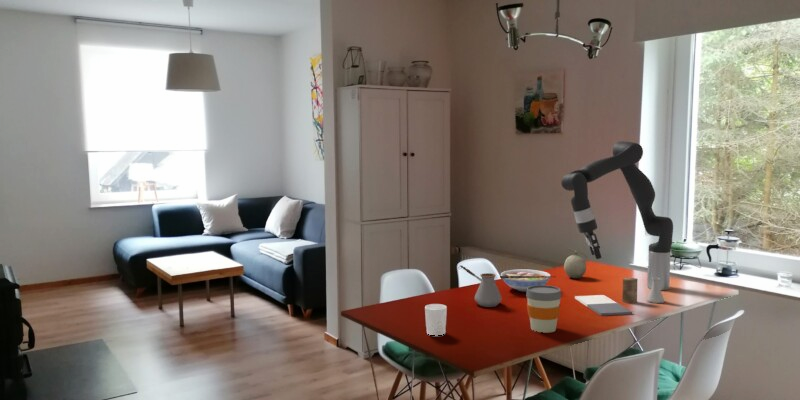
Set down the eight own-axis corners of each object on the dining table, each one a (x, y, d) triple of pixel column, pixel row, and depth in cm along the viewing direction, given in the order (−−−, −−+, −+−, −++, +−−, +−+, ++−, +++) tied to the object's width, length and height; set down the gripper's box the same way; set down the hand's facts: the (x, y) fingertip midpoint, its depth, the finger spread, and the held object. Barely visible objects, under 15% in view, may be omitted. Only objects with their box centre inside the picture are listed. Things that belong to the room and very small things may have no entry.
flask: (666, 304, 253) (667, 280, 252) (648, 303, 254) (648, 280, 253) (662, 299, 260) (663, 276, 259) (644, 298, 261) (645, 276, 260)
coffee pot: (507, 304, 257) (507, 269, 255) (490, 310, 249) (490, 274, 247) (468, 295, 272) (467, 262, 270) (451, 300, 264) (451, 267, 262)
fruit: (590, 280, 296) (591, 250, 295) (567, 280, 297) (567, 250, 295) (584, 275, 307) (584, 246, 305) (561, 275, 307) (561, 246, 305)
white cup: (424, 330, 224) (423, 304, 223) (445, 329, 224) (444, 303, 223) (426, 337, 216) (426, 310, 215) (448, 336, 216) (448, 309, 215)
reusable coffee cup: (537, 321, 232) (537, 283, 230) (567, 328, 223) (567, 288, 222) (519, 329, 223) (519, 289, 221) (549, 336, 214) (550, 295, 213)
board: (574, 298, 263) (574, 296, 263) (603, 297, 265) (603, 294, 265) (600, 315, 238) (600, 313, 238) (632, 314, 239) (632, 311, 239)
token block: (622, 302, 257) (622, 279, 256) (626, 300, 260) (627, 277, 259) (632, 303, 254) (633, 280, 253) (636, 301, 257) (637, 278, 256)
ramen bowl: (547, 283, 291) (547, 267, 290) (558, 296, 268) (558, 278, 267) (495, 284, 291) (495, 267, 291) (501, 296, 269) (501, 278, 268)
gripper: (598, 219, 242) (609, 257, 243) (590, 214, 256) (601, 250, 257) (579, 224, 243) (591, 262, 244) (573, 219, 257) (584, 255, 258)
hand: (596, 256), depth 251 cm, fingers open, 8 cm apart
